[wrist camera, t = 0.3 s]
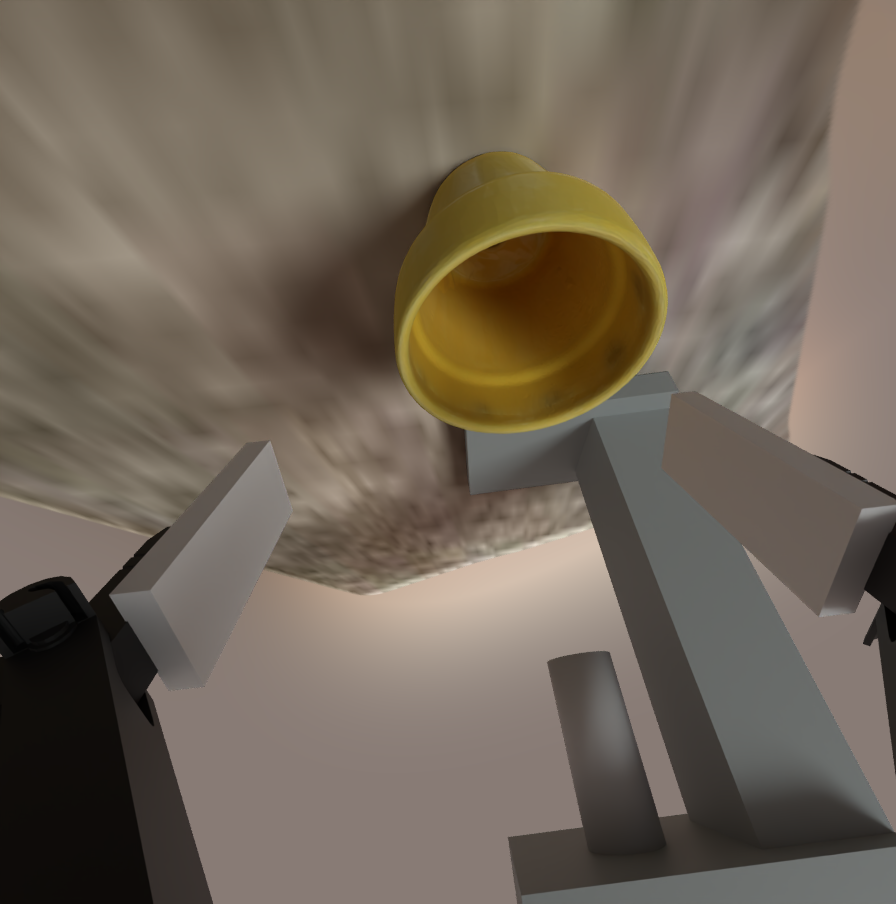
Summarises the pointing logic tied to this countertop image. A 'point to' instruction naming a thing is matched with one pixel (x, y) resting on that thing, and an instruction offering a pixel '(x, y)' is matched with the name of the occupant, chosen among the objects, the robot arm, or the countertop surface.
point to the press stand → (686, 699)
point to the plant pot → (524, 298)
